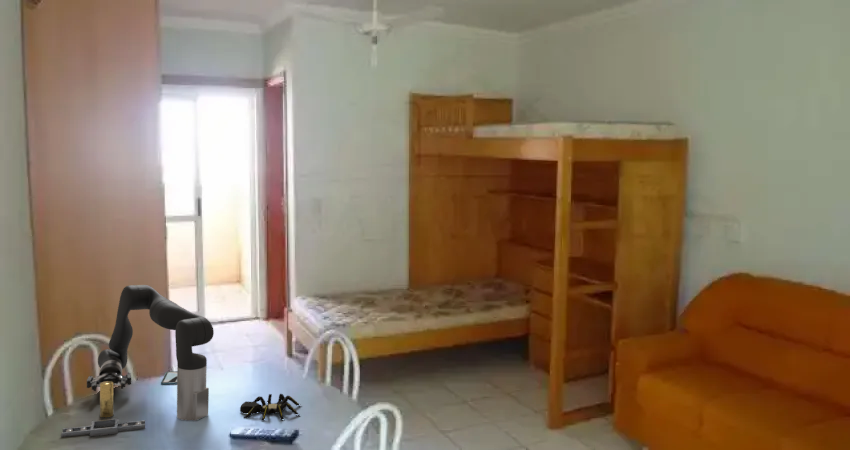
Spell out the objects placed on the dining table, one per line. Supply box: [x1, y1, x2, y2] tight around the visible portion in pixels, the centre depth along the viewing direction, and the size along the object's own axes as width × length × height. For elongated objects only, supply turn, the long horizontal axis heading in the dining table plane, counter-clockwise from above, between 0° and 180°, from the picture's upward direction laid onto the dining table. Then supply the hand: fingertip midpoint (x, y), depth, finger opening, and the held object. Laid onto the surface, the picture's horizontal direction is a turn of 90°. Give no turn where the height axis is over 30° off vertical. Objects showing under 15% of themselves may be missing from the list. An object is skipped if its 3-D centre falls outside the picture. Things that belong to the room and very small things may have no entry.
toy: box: [239, 393, 300, 421], centre depth 231 cm, size 18×21×5 cm
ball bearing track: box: [60, 418, 146, 438], centre depth 209 cm, size 24×8×2 cm, turn 113°
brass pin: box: [99, 381, 114, 419], centre depth 221 cm, size 4×4×11 cm
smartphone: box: [160, 370, 177, 386], centre depth 260 cm, size 7×1×15 cm
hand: (108, 387), depth 230 cm, fingers open, 8 cm apart
